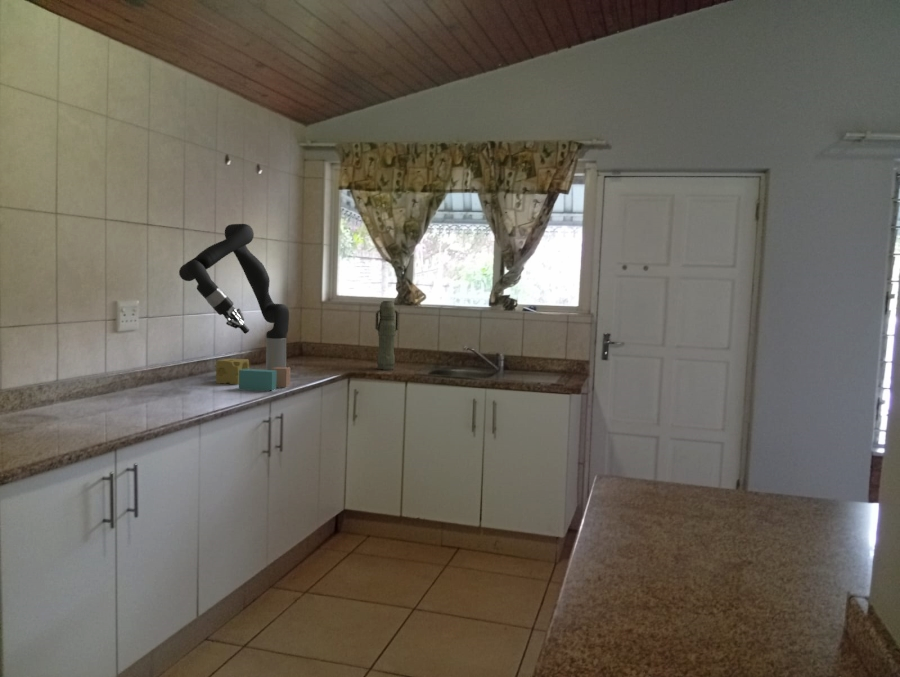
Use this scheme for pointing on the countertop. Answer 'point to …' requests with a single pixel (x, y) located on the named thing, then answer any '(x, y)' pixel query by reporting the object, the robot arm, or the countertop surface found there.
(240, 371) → the teal brick
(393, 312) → the thermos
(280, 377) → the terracotta block
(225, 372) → the cheese
